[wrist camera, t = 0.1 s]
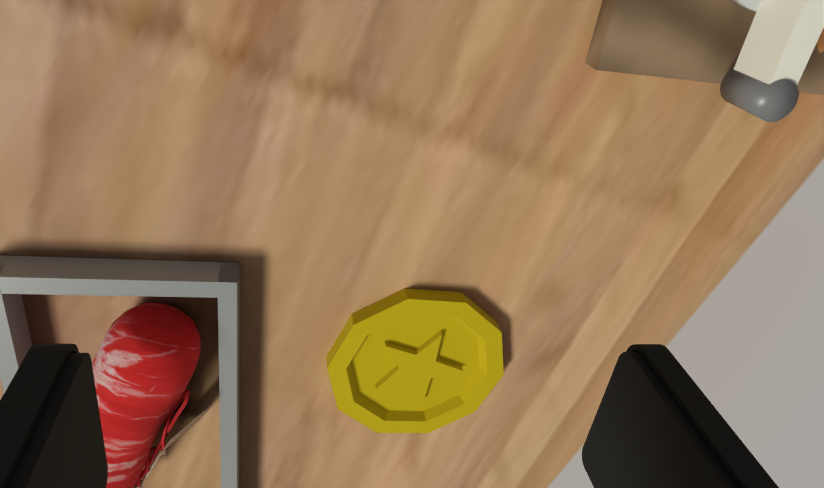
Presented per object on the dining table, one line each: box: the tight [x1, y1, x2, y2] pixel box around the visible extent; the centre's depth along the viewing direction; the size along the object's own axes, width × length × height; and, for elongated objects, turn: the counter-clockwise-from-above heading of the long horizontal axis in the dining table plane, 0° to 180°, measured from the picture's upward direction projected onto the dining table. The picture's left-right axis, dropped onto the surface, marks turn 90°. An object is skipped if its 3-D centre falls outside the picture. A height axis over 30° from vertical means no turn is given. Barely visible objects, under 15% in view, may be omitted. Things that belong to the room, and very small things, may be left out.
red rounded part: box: [92, 303, 210, 488], centre depth 54 cm, size 12×8×25 cm
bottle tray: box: [0, 255, 240, 488], centre depth 55 cm, size 32×18×3 cm, turn 172°
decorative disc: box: [327, 288, 504, 433], centre depth 59 cm, size 17×18×2 cm
